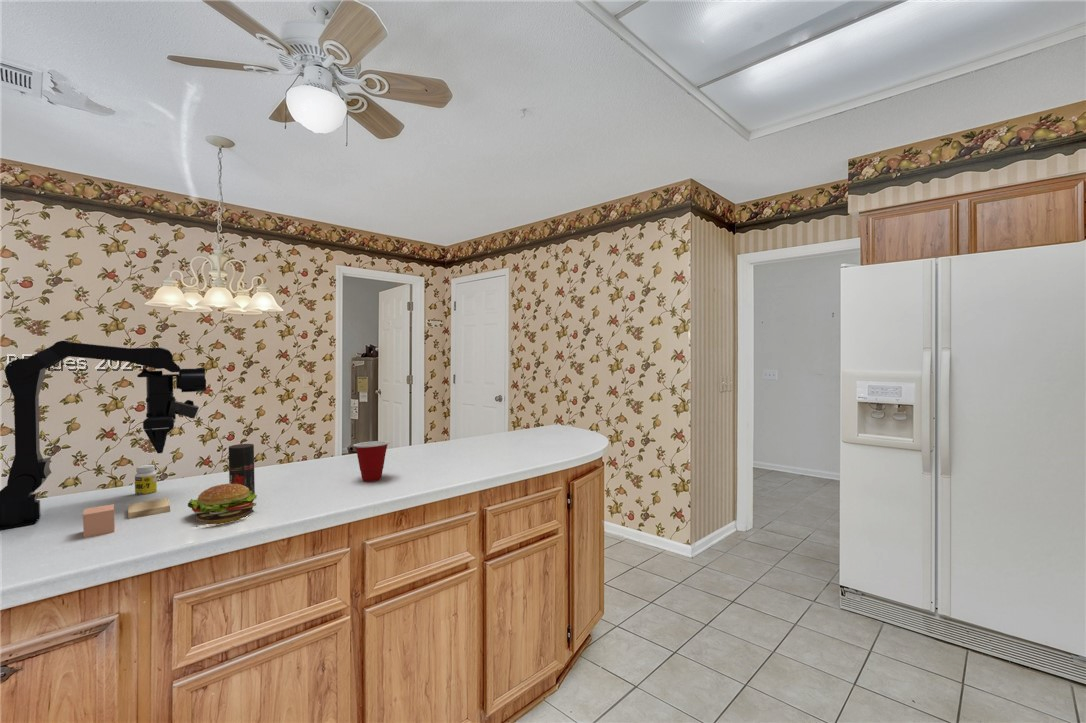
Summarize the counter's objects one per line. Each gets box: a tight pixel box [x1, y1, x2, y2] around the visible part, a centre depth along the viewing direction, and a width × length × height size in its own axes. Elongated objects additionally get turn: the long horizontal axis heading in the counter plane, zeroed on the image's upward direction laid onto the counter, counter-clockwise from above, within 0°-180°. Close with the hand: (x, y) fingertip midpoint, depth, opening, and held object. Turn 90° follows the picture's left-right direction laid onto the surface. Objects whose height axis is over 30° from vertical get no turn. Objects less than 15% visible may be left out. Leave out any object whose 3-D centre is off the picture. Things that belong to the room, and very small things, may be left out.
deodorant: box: [228, 443, 256, 495], centre depth 133 cm, size 6×6×15 cm
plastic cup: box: [353, 440, 390, 483], centre depth 153 cm, size 11×11×12 cm
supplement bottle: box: [134, 464, 158, 496], centre depth 136 cm, size 5×5×8 cm
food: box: [187, 483, 258, 525], centre depth 120 cm, size 14×14×8 cm
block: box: [82, 503, 116, 539], centre depth 108 cm, size 5×5×6 cm
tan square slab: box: [127, 497, 171, 520], centre depth 121 cm, size 8×8×2 cm
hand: (161, 450), depth 131 cm, fingers open, 9 cm apart
